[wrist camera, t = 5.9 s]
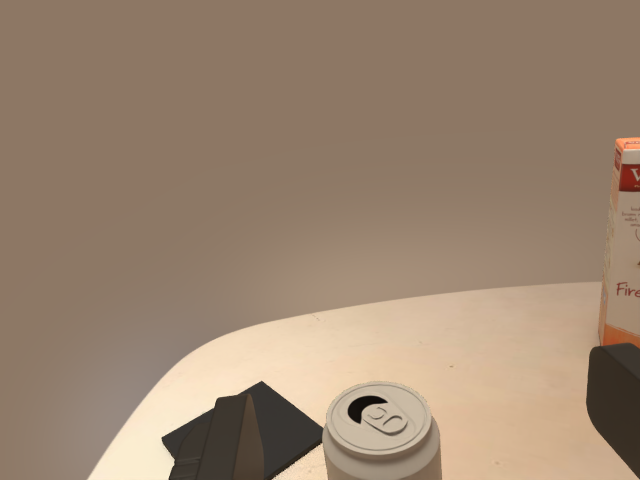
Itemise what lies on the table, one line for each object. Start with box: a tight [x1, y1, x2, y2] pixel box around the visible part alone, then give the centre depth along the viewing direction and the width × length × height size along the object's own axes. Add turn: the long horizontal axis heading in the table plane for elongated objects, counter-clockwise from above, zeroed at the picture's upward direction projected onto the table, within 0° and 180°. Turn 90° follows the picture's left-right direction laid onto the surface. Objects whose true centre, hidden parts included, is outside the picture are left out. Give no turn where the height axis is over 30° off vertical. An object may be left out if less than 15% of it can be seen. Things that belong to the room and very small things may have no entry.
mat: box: [162, 381, 324, 480], centre depth 40 cm, size 11×11×1 cm
